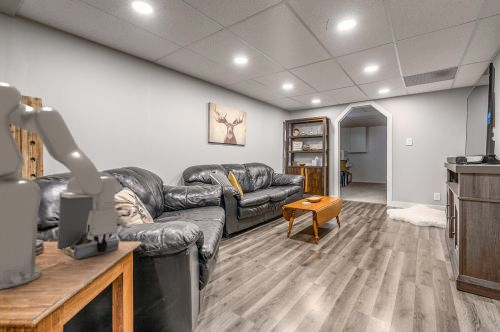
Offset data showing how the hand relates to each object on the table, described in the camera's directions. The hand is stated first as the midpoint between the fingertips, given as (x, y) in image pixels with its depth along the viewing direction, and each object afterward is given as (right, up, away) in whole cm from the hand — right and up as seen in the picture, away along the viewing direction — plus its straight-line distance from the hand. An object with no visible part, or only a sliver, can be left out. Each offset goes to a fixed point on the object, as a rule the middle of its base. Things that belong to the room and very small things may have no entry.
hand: (101, 251), depth 92 cm
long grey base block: (-7, -1, +4) cm, 8 cm away
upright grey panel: (-15, -2, +9) cm, 17 cm away
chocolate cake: (-12, -2, +8) cm, 15 cm away
